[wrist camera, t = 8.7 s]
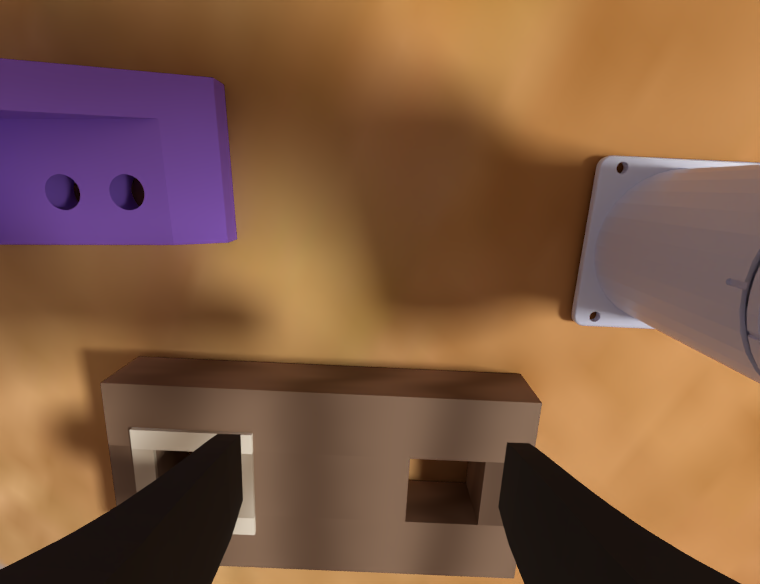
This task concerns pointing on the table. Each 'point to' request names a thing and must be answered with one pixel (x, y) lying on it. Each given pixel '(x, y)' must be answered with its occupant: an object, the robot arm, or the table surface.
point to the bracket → (112, 157)
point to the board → (333, 457)
